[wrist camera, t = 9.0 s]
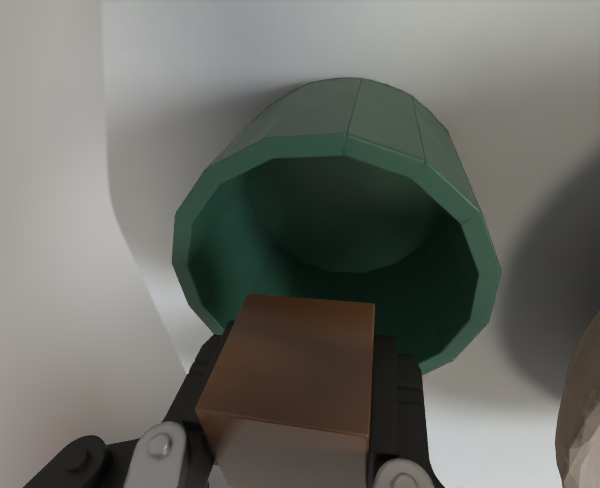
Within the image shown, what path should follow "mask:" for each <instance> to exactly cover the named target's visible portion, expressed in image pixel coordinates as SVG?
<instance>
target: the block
mask: <svg viewBox="0 0 600 488" xmlns="http://www.w3.org/2000/svg"><path fill="white" fill-rule="evenodd" d="M374 317H375V305H374V303H365V302H352V301H338V300H325V299H312V298H298V297H285V296H272V295H258V294H248V295H247V296H246V299H245V301H244V303H243V305H242V307H241V309H240V312H239V314H238V316H237V318H236V320H235V322H234V325H233V327H232V329H231V331H230V333H229V336H228V338H227V340H226V342H225V344H224V346H223V349H222V351H221V353H220V355H219V357H218V360H217V362H216V364H215V366H214V368H213V370H212V373H211V375H210V377H209V379H208V381H207V383H206V386H205V388H204V390H203V392H202V394H201V397H200V399H199V401H198V403H197V405H196V407H195V412H196V414H197V417H198V419H199V421H200V423H201V426H202V428H203V430H204V433H205V435H206V437H207V439H208V442H209V444H210V446H211V448H212V451H213V453H214V455H215V457H216V460H217V462H218V464H219V466H220V468H221V471H222V473H223V475H224V478H225V480H226V482H227V485H228V486H230V487H236V488H367V481H368V459H369V437H370V413H371V389H372V365H373V341H374Z"/></svg>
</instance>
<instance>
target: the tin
mask: <svg viewBox="0 0 600 488" xmlns="http://www.w3.org/2000/svg"><path fill="white" fill-rule="evenodd" d="M172 265H173V267H174V270H175V272H176V275H177V277H178V280H179V282H180V285H181V287H182V290H183V292H184V295H185V297H186V300H187V302H188V305H189V306H190V307H191V309H192V310H193V311H194V312H195V313H196V314H197V315H198V316H199V318H200V319H201V320H202V321H203V322H204V323H205V324H206V325H207V327H208V328H209V329H210V330H211V331H212V332H213V333H214V334H215V335H222V334H223V332H224V330H225V328H226V326H227V324H228V322H229V321H231V320H236V318H237V316H238V314H239V312H240V309H241V307H242V305H243V303H244V301H245V299H246V296H247V295H248V294H258V295H272V296H285V297H298V298H312V299H325V300H338V301H352V302H365V303H374V305H375V317H374V334H384V335H395V336H396V353H398V354H408V355H413V356H414V358H415V360H416V361H417V363H418V365H419V367H420V369H421V372H422V375H424V374H426V373H428V372H430V371H432V370H435V369H437V368H439V367H441V366H443V365H445V364H447V363H449V362H452V361H453V360H454V359H455V358H456V357H457V356H458V355H459V354H460V353H461V352H462V351H463V350H464V349H465V348H466V347H467V345H468V344H469V343H470V342H471V341H472V340H473V339H474V338H475V337H476V336H477V335H478V334H479V332H480V331H481V330H482V329H483V328H484V327H485V326H486V325H487V323H489V320H490V316H491V312H492V308H493V304H494V300H495V296H496V292H497V288H498V283H499V279H500V275H501V268H500V265H499V262H498V259H497V256H496V253H495V250H494V247H493V244H492V241H491V238H490V235H489V232H488V229H487V226H486V223H485V220H484V217H483V214H482V211H481V209H480V207H479V204H478V202H477V200H476V197H475V195H474V192H473V190H472V188H471V185H470V183H469V180H468V178H467V176H466V173H465V171H464V169H463V166H462V164H461V161H460V159H459V157H458V154H457V152H456V149H455V147H454V145H453V142H452V140H451V137H450V135H449V133H448V131H447V129H446V128H445V127H444V126H443V125H442V124H441V123H440V122H439V121H438V120H437V119H436V118H435V117H434V115H433V114H432V113H431V112H430V111H429V110H428V109H427V108H426V107H425V106H423V105H422V104H421V103H420V102H419V101H417V100H416V99H415V98H414V97H413V96H411V95H409V94H406V93H405V92H403V91H401V90H399V89H397V88H394V87H392V86H390V85H387V84H384V83H380V82H376V81H373V80H367V79H361V78H334V79H328V80H322V81H318V82H311V83H308V84H306V85H305V86H303V87H301V88H299V89H297V90H294V91H292V92H290V93H289V94H287V95H286V96H284V97H283V98H281V99H280V100H278V101H276V102H275V103H273V104H271V105H269V106H268V107H267V108H266V109H265V110H264V111H263V112H262V113H261V114H260V115H259V116H258V117H257V118H256V119H255V120H254V121H253V122H252V123H251V124H250V125H249V126H248V127H247V128H246V129H245V130H244V131H243V132H242V133H241V134H240V135H239V136H238V137H237V138H236V139H235V140H234V141H233V142H232V143H231V144H230V145H229V146H228V147H227V148H226V149H225V150H224V151H223V152H222V153H221V154H220V155H219V156H218V157H217V158H216V159H215V160H214V161H213V162H212V163H211V164H210V165H209V166H208V167H207V168H206V169H205V170H204V172H203V173H202V175H201V176H200V178H199V179H198V181H197V182H196V184H195V185H194V187H193V188H192V190H191V191H190V193H189V194H188V196H187V197H186V199H185V200H184V202H183V203H182V204H181V206H180V207H179V209H178V210H177V212H176V215H175V223H174V238H173V252H172Z"/></svg>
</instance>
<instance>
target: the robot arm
mask: <svg viewBox="0 0 600 488" xmlns="http://www.w3.org/2000/svg"><path fill="white" fill-rule="evenodd" d="M234 322H235V320H231V321H229V322H228V324H227V326H226V328H225V330H224V332H223V334H222V335H213V336H212V337H211V338H210V339H209V340H208V341H207V342H206V343H205V344H204V345H203V346H202V347H201V349H200V351H199V353H198V355H197V357H196V359H195V362H193V364H192V366H191V368H190V370H189V374H187V376H186V378H185V380H184V382H183V384H182V386H181V388H180V390H179V391H178V393H177V395H176V397H175V399H174V401H173V403H172V405H171V407H170V409H169V411H168V413H167V415H166V416H165V418H164V420H163V421H162V422H161V423H160V424H157V425H155V426H153V427H151V428H150V429H149V430H147V431H146V432H145V433H144V434H143V435H142V437H141V438H138V439H135V440H130V441H125V442H120V443H115V444H109V445H106V444H105V443H104V441H103V440H102V439H101V438H99V437H98V436H93V435H89V436H84V437H81V438H78V439H76V440H74V441H73V442H71V443H70V444H68V445H67V446H66V447H65V448H63V449H62V450H61V451H60V452H59V453H58V454H57V455H56V456H55V457H54V458H53V459H52V460H51V461H50V462H49V463H48V464H47V465H46V466H45V467H44V468H43V469H42V470H41V471H40V472H39V473H38V474H37V475H35V476H34V477H33V478H32V479H31V480H30V481H29V482H28V483H27V484H26V485H25V486H24V487H23V488H209V480H208V478H209V475H210V472H211V469H212V467H213V465H219V464H218V462H217V460H216V457H215V455H214V453H213V451H212V448H211V446H210V444H209V442H208V439H207V437H206V435H205V433H204V430H203V428H202V426H201V423H200V421H199V419H198V417H197V414H196V412H195V407H196V405H197V403H198V401H199V399H200V397H201V394H202V392H203V390H204V388H205V386H206V383H207V381H208V379H209V377H210V375H211V373H212V370H213V368H214V366H215V364H216V362H217V360H218V357H219V355H220V353H221V351H222V349H223V346H224V344H225V342H226V340H227V338H228V336H229V333H230V331H231V329H232V327H233V325H234ZM367 488H445V487H444V486H443V485H442V484H441V483H440V481H439V480H438V479H437V477H436V476H435V474H434V472H433V470H432V467H431V464H430V460H429V452H428V441H427V429H426V418H425V406H424V395H423V383H422V372H421V369H420V367H419V365H418V363H417V361H416V360H415V358H414V356H413V355H408V354H398V353H396V336H395V335H384V334H374V341H373V365H372V389H371V413H370V437H369V459H368V481H367Z"/></svg>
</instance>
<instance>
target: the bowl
mask: <svg viewBox="0 0 600 488" xmlns="http://www.w3.org/2000/svg"><path fill="white" fill-rule="evenodd" d="M555 448H556V460H557V466H558V469H559V473H560V476H561V479H562V486H563V488H600V309H599V310H598V312H597V313H596V314H595V315H594V317H593V318H592V320H591V321H590V323H589V325H588V326H587V328H586V329H585V331H584V332H583V334H582V336H581V338H580V341H579V343H578V345H577V347H576V350H575V352H574V354H573V356H572V359H571V361H570V364H569V369H568V373H567V377H566V382H565V386H564V391H563V395H562V400H561V404H560V409H559V414H558V420H557V428H556V436H555Z"/></svg>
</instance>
